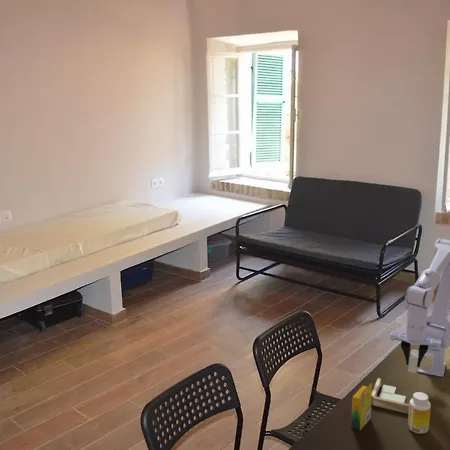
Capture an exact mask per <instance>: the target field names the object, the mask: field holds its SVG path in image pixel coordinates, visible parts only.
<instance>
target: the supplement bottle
mask: <svg viewBox="0 0 450 450" xmlns="http://www.w3.org/2000/svg"><path fill="white" fill-rule="evenodd" d="M408 404H409V414H408V416H407V417H408V419H407V426H408V429H409V430H410V432H411V431H412V432H413V433H415V434H421V435H423V434H426V433H428V431H429V429H430V422H431V421H430V418H431V409H432V407H431V405H432V404H431V402H430V400H429V395H428V394H426V393H424V392H422V391H420V392H419V391H417V392H414V393H413V394H412V398H411V399H410V401H409V403H408Z"/></svg>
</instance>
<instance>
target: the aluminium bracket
mask: <svg viewBox="0 0 450 450" xmlns="http://www.w3.org/2000/svg"><path fill="white" fill-rule="evenodd" d="M418 354H419V349H418V350H417V349H413V348H412V349H411V350H410V356H409V364H408V365H407V372H409V373H414V374H417V372H418V369H421V370H425V371H430V372H431V370H432V363H433V356H434V354H433V353H428V352H426V354H425V355H424V357H423V358H422V360H421V363H420V367H417V363H418Z"/></svg>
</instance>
